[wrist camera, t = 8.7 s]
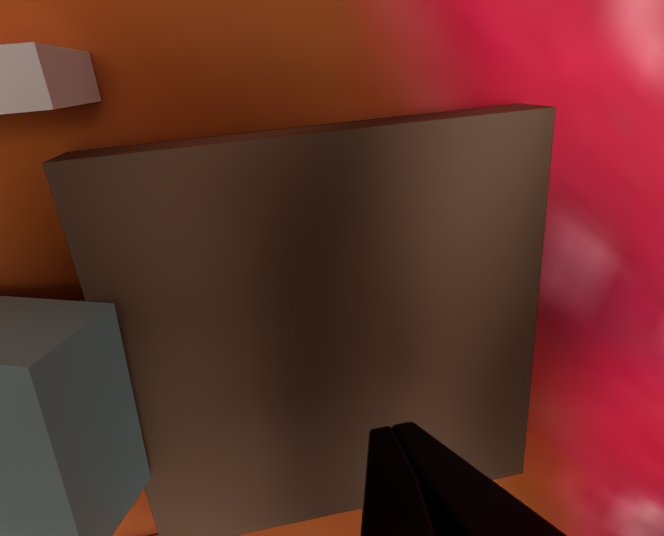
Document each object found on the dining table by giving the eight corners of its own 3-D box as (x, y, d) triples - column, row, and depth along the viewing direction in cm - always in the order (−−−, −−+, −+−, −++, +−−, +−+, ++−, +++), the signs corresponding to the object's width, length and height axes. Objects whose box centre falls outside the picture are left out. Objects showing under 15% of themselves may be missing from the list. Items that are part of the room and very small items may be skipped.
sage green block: (114, 303, 10) (28, 367, 8) (150, 477, 12) (89, 569, 10) (-78, 290, 11) (-205, 345, 9) (-17, 455, 13) (-108, 535, 11)
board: (519, 103, 12) (555, 106, 11) (499, 439, 16) (522, 473, 15) (67, 152, 11) (42, 162, 9) (170, 507, 15) (164, 550, 14)
